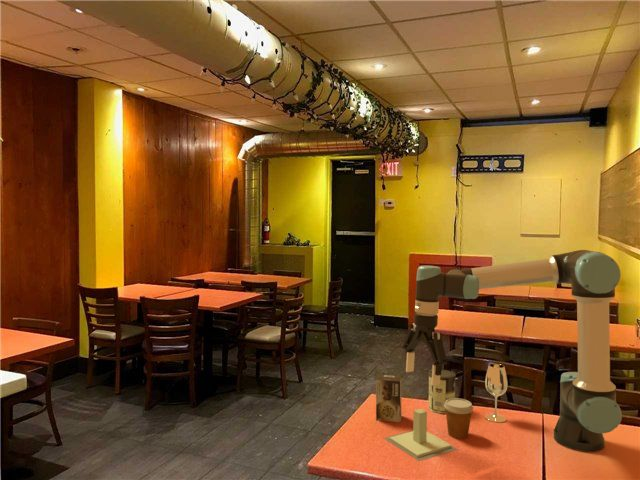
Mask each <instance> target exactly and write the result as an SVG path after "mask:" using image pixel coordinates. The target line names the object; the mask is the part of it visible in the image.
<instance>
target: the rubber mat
mask: <svg viewBox="0 0 640 480" xmlns="http://www.w3.org/2000/svg"><path fill="white" fill-rule="evenodd" d="M412 431H413V430H408V431H406V432H402V433H397V434H394V435H391V436H390V435H389V436H386V437H383V439H384V440H386V441H387V442H388V443H390V444H391V445H394V446H395V447H396V448H397V449H399V450H401V451H402V452H404V453H406V454H407V455H409V456H411V458H414V459H415V460H416V461H418V462H421V461H424V460H427V459H431V458H435V457H438V456H440V455H444V454H447V453H451V452H454V451H457V450H459V449H458V448H457V447H454V446H453V445H451V448H447V449H444V450H441V451H437V452H434V453H431V454H427V455H424V456H421V457H416V456H414V455H412V454H411V453H409V452H408V451H406V450H405V449H403V448H402V447H400V446H398V445H397V444H395V443H394V442H392V441H391V440H390V437H393V436H397V435H401V434H404V433H408V432H412Z"/></svg>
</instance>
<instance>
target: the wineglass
mask: <svg viewBox="0 0 640 480" xmlns="http://www.w3.org/2000/svg"><path fill="white" fill-rule="evenodd" d="M484 385H485V389H486V391H487V392H488V393H489V394H490V395H492V396H493V397H494V412H493V413H488V414H485V416H484V418H485V419H486V420H487V421H490V422H493V423H504V422H506V421H507V418H506V416H504V415H502V414H499V413H498V411H497V409H498V408H497V407H498V398H499V397H500V396H502V395H504V394H505V393H506V391H507V390H508V377H507V372H506V368H505V365H503V364H500V363H490V364H488V368H487V370H486V374H485V381H484Z"/></svg>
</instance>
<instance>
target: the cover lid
mask: <svg viewBox="0 0 640 480" xmlns="http://www.w3.org/2000/svg"><path fill="white" fill-rule="evenodd" d="M427 417H428V412H427V411H426V410H425V409H422V408H418V409H414V410H413V419H412V421H413V426H412V427H413V428H412V429H413V431H412V430H411V431H412V432H409V431H407V432H408V433H405V432H403V433H404V434H401V433H400V434H401V435H397V434H396V435H397V436H393V435H392V436H393V437H390V436H389V437H390V440H391V441H392V442H394V443H395V444H397V445H398V446H400V447H402V448H403V449H405V450H406V451H408V452H409V453H411V454H412V455H414V456H416V457H421V456H424V455H427V454H431V453H434V452H437V451H441V450H444V449H447V448H451V446H452V444H451V443H448V442H446V441H445V440H443V439H441V438H439V437H438V436H436V435H434V434H432V433H431V432H429V431H427V428H428V427H427V422H428V418H427Z"/></svg>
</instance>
